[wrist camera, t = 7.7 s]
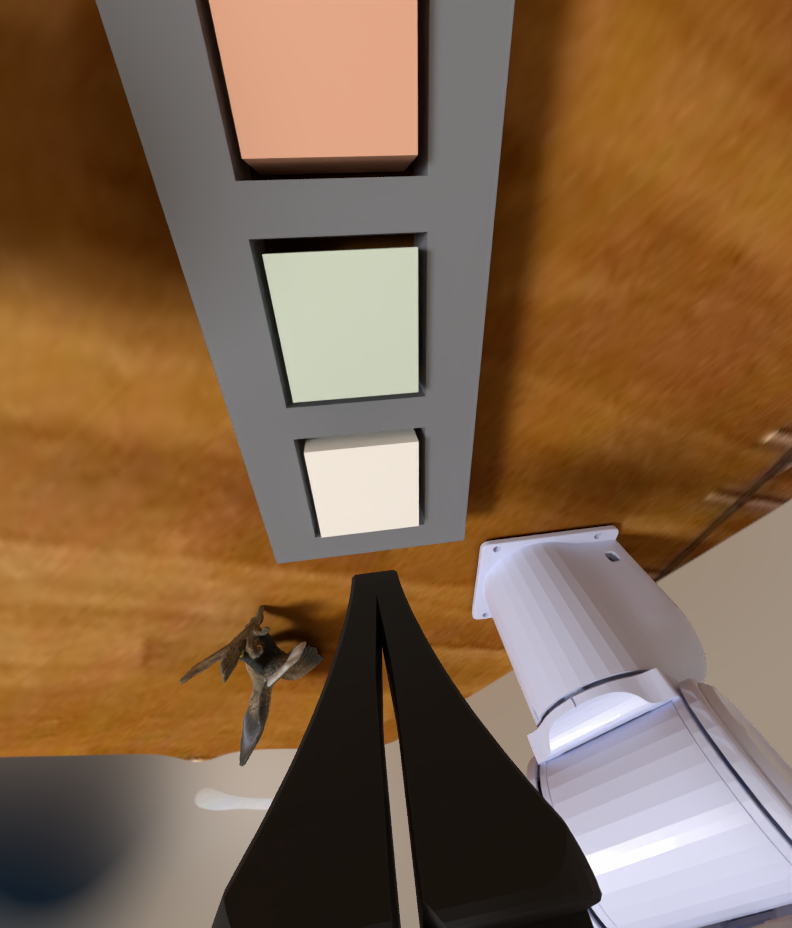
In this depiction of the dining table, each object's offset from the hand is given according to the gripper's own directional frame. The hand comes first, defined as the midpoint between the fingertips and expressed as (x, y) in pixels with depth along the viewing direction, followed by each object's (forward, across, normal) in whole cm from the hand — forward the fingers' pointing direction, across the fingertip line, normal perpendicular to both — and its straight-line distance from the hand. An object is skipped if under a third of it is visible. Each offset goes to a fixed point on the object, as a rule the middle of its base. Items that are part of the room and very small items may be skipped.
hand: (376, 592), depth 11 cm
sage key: (+8, 0, -7) cm, 11 cm away
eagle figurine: (+9, +8, +15) cm, 19 cm away
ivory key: (+8, 0, 0) cm, 8 cm away
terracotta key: (+8, 0, -14) cm, 16 cm away
